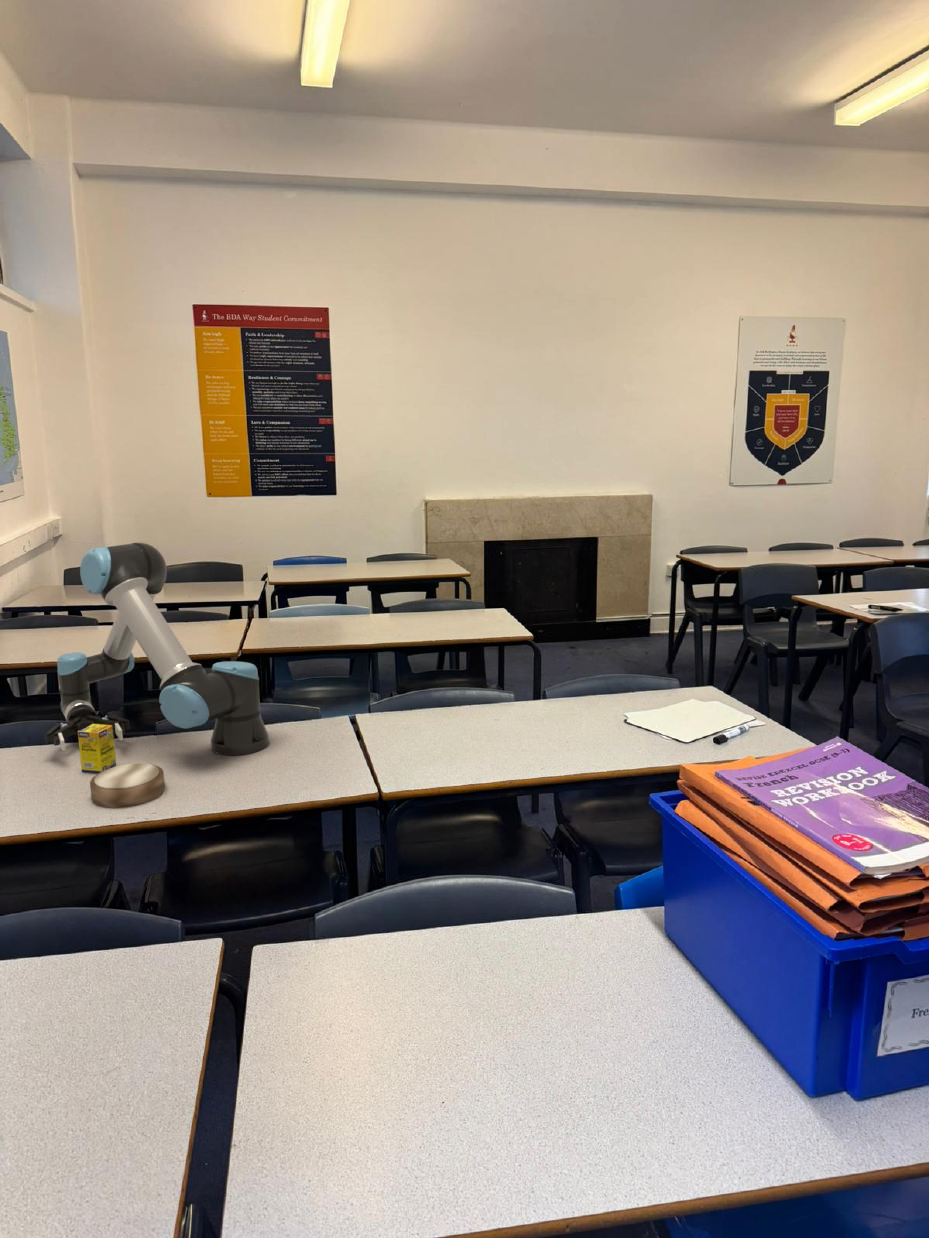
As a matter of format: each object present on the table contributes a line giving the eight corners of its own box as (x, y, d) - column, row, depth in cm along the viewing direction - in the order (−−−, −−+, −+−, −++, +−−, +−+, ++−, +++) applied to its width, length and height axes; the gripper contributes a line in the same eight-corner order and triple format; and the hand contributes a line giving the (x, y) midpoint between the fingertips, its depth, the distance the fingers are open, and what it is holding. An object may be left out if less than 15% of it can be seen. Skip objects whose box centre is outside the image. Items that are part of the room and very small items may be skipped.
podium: (169, 776, 200) (167, 759, 199) (159, 804, 185) (157, 785, 184) (100, 782, 197) (98, 764, 196) (84, 810, 181) (82, 792, 180)
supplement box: (102, 774, 201) (98, 732, 199) (81, 772, 203) (76, 731, 200) (117, 765, 207) (113, 724, 205) (96, 763, 208) (92, 723, 206)
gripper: (130, 721, 232) (145, 744, 214) (32, 738, 219) (39, 764, 201) (127, 696, 230) (142, 717, 212) (29, 712, 217) (36, 735, 200)
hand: (92, 740), depth 207 cm, fingers open, 13 cm apart
